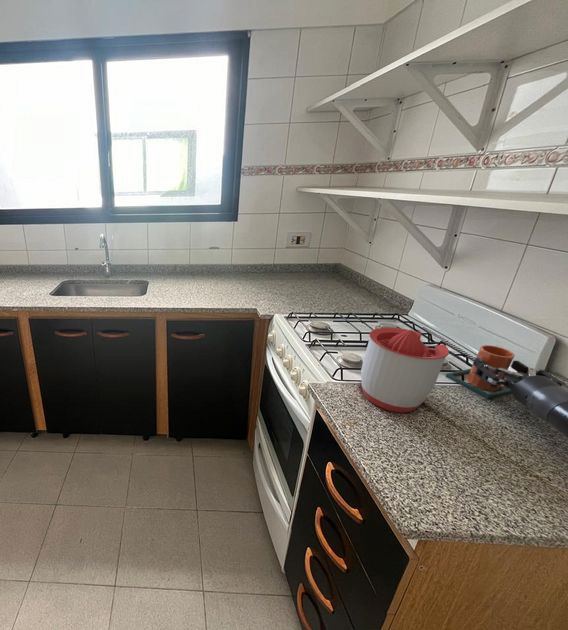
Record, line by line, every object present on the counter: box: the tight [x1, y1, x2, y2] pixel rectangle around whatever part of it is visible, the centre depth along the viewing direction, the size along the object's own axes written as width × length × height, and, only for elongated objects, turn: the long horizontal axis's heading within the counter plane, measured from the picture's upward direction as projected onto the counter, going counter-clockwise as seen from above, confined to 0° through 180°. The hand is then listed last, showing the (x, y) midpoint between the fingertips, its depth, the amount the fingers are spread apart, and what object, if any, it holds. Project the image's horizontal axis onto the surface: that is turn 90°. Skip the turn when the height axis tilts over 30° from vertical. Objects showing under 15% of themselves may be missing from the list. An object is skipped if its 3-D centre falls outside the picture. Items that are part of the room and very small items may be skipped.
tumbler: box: [466, 344, 516, 392], centre depth 90 cm, size 6×6×11 cm
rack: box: [445, 368, 513, 400], centre depth 92 cm, size 12×10×2 cm
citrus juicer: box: [360, 327, 450, 414], centre depth 85 cm, size 16×17×20 cm
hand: (494, 362), depth 89 cm, fingers open, 8 cm apart
